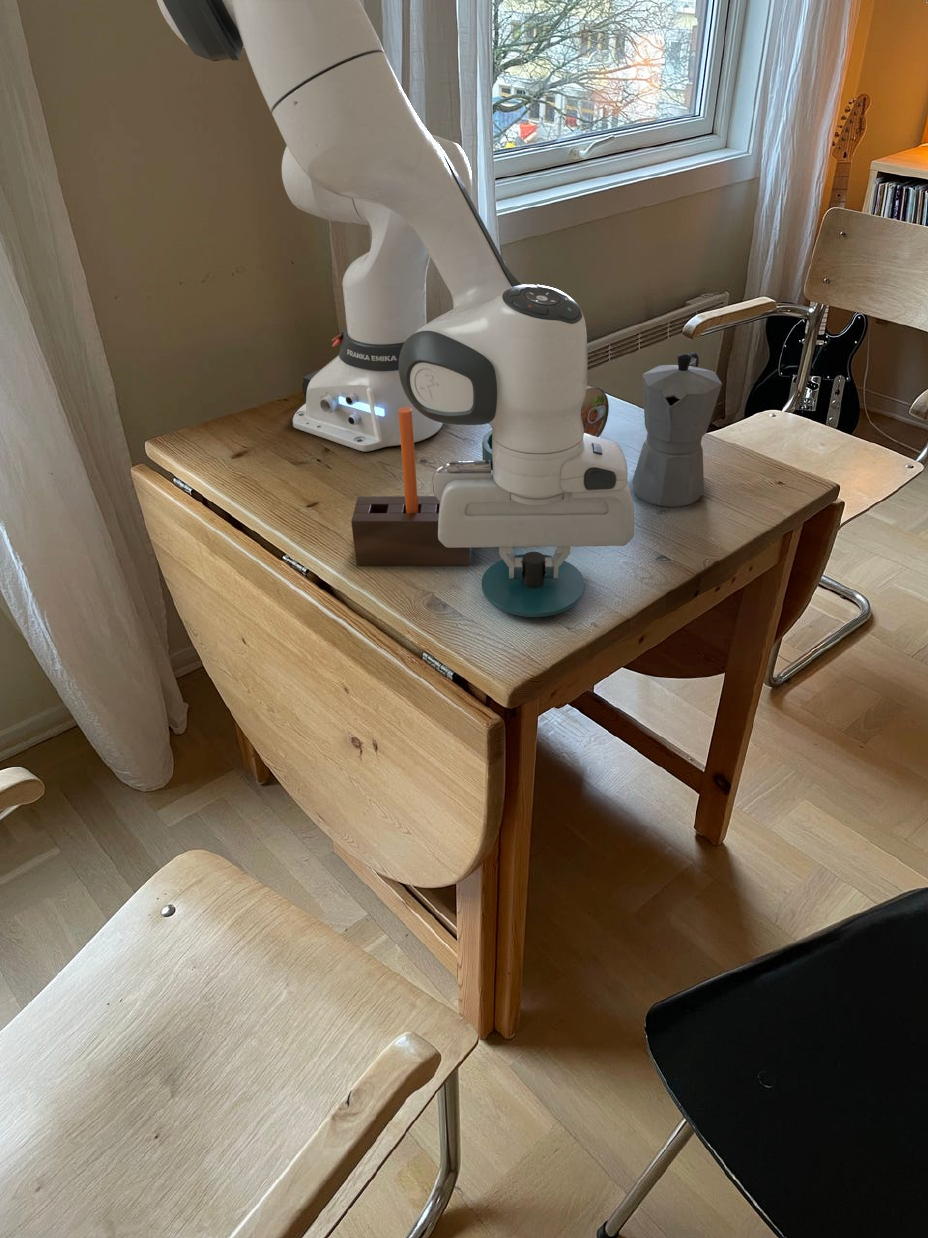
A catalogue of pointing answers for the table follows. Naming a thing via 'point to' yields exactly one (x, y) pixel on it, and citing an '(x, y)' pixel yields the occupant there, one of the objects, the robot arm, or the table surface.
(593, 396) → the tin
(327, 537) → the table surface
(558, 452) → the robot arm
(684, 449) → the coffeepot
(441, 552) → the straw rack
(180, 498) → the table surface
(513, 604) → the can lid
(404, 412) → the straw
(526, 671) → the table surface
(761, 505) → the table surface
